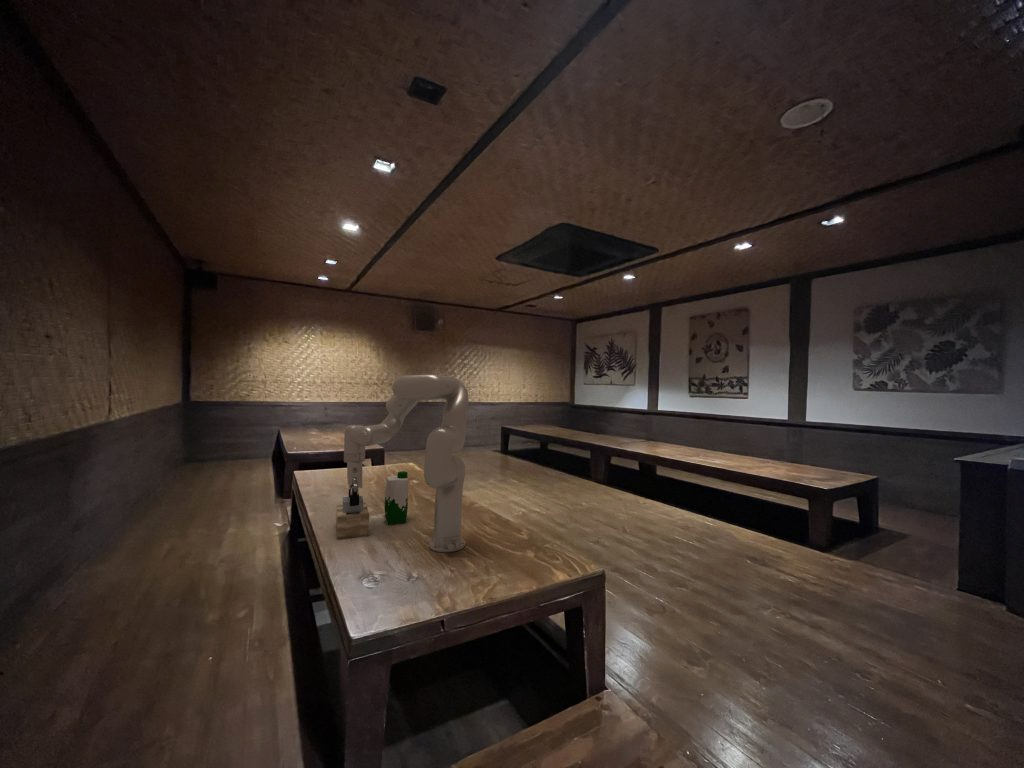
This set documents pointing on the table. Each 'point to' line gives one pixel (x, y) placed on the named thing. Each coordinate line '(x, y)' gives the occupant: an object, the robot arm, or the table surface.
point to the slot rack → (352, 523)
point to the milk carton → (396, 498)
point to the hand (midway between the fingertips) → (353, 502)
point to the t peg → (352, 509)
